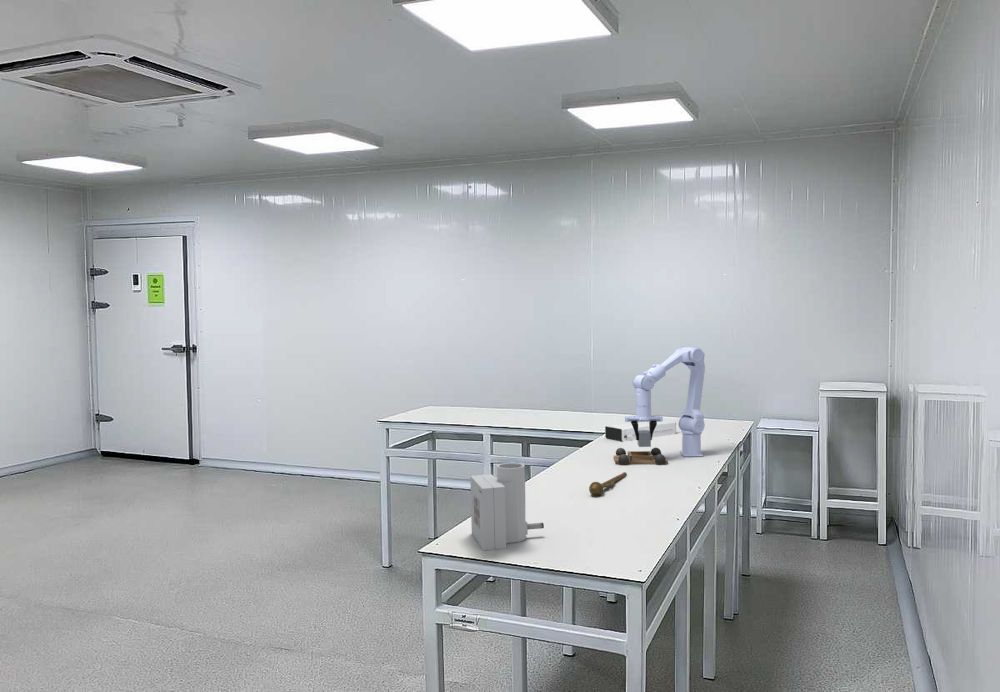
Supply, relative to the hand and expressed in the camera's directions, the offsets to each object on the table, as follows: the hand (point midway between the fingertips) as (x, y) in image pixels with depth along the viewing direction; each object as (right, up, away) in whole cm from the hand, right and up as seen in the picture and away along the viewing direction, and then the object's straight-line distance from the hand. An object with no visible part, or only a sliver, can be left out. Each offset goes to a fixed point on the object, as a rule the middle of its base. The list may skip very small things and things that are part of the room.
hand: (643, 439), depth 322 cm
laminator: (+9, -6, +59) cm, 60 cm away
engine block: (0, -2, 0) cm, 2 cm away
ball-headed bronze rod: (-19, -12, -40) cm, 46 cm away
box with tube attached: (-54, -16, -100) cm, 115 cm away
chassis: (-1, -9, +1) cm, 9 cm away
